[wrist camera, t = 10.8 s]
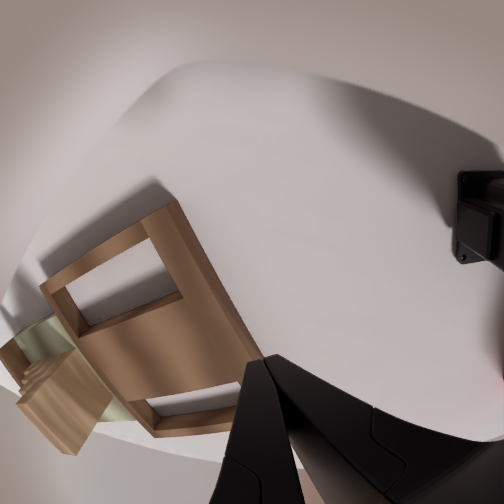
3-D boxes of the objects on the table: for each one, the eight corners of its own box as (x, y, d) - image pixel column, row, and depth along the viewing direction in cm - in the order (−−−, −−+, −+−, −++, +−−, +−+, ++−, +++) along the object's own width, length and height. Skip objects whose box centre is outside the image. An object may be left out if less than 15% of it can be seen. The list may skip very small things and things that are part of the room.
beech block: (76, 348, 22) (26, 403, 15) (113, 396, 24) (76, 455, 16) (32, 362, 25) (-7, 403, 18) (64, 402, 26) (30, 445, 19)
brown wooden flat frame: (177, 200, 19) (142, 217, 14) (291, 402, 24) (289, 447, 19) (7, 309, 26) (-19, 329, 21) (96, 427, 30) (80, 452, 26)
